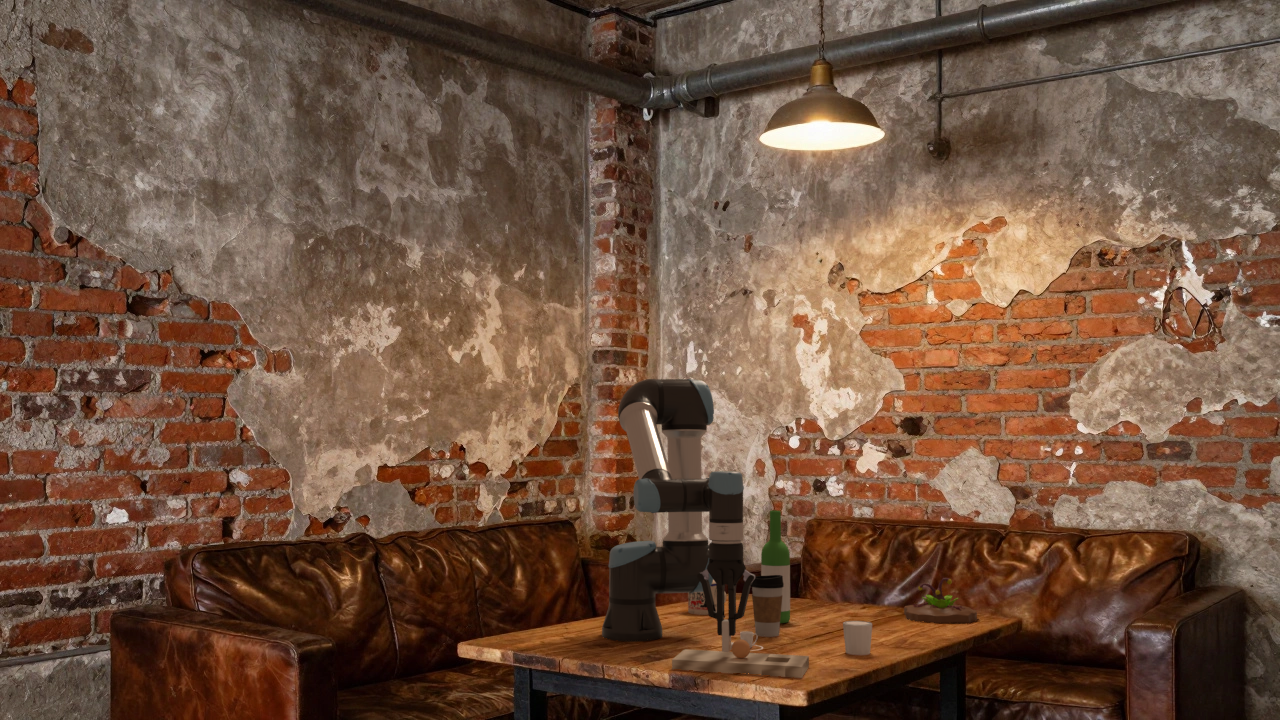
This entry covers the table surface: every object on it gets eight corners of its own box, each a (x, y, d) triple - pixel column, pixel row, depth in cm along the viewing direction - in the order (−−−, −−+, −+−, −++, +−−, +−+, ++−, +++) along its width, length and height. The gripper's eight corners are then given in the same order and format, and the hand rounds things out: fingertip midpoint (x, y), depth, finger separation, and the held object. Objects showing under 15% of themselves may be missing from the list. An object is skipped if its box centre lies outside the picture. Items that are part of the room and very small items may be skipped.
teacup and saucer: (725, 652, 273) (725, 634, 273) (727, 646, 281) (727, 629, 281) (763, 653, 272) (763, 635, 272) (763, 647, 279) (763, 629, 280)
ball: (750, 652, 249) (737, 663, 250) (755, 649, 252) (742, 660, 253) (739, 636, 250) (725, 647, 251) (744, 634, 254) (731, 645, 255)
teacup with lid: (681, 613, 327) (681, 572, 328) (698, 609, 335) (698, 569, 336) (717, 617, 320) (717, 575, 321) (734, 613, 328) (734, 572, 329)
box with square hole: (672, 671, 250) (672, 659, 250) (684, 660, 261) (684, 649, 261) (801, 678, 242) (801, 666, 243) (808, 667, 254) (808, 655, 254)
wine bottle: (776, 618, 319) (775, 509, 321) (796, 622, 313) (795, 511, 315) (755, 621, 315) (755, 510, 317) (775, 625, 309) (775, 512, 310)
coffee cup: (782, 638, 289) (782, 578, 289) (748, 637, 290) (748, 577, 291) (785, 633, 297) (785, 574, 298) (752, 631, 298) (752, 573, 299)
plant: (981, 625, 312) (980, 583, 313) (907, 623, 315) (906, 581, 316) (972, 613, 332) (972, 574, 332) (903, 611, 335) (902, 572, 336)
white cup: (852, 649, 276) (851, 619, 276) (878, 652, 271) (877, 622, 272) (837, 653, 270) (837, 623, 271) (863, 657, 266) (863, 626, 266)
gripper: (693, 542, 252) (693, 652, 251) (752, 544, 249) (752, 655, 247) (701, 539, 260) (701, 646, 258) (758, 541, 256) (759, 649, 254)
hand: (726, 650), depth 253 cm, fingers closed
